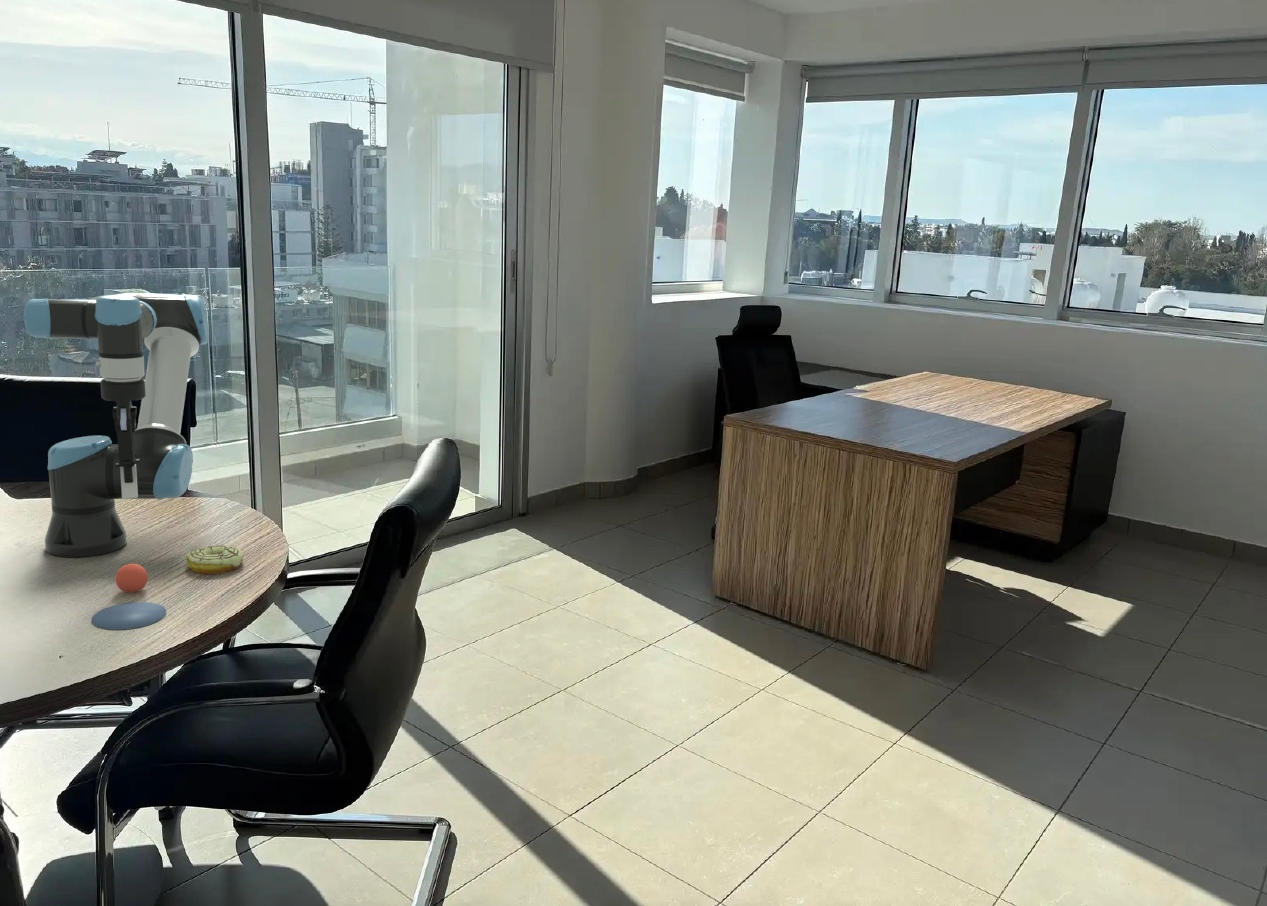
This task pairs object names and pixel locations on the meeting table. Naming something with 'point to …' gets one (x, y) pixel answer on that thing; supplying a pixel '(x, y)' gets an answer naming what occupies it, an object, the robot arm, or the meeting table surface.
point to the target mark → (128, 615)
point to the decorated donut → (214, 559)
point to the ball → (131, 578)
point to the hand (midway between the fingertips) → (130, 496)
